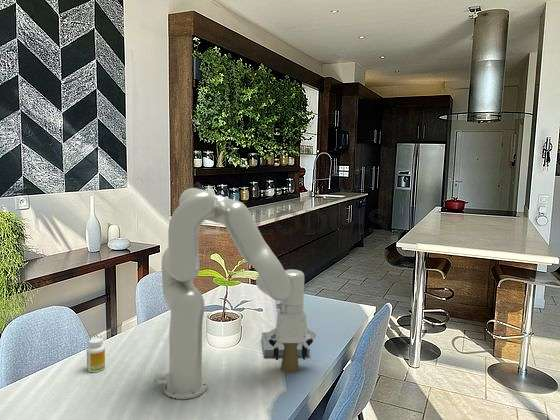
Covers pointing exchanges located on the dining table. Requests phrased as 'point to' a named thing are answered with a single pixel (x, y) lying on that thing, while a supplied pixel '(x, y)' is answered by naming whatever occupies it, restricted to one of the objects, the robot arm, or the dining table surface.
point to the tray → (269, 349)
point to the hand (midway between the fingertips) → (290, 357)
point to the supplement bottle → (95, 355)
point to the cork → (290, 358)
